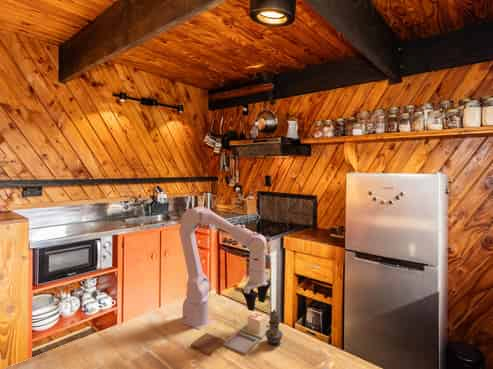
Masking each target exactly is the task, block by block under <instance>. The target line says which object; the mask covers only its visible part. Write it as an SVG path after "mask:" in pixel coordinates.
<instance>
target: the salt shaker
mask: <svg viewBox="0 0 493 369" xmlns="http://www.w3.org/2000/svg"><path fill="white" fill-rule="evenodd" d="M279 317H280V316H279V313H278V311H276V309H273V311H271V312H270V313H269V321H268V324H270V328H269V330H267V331H266V332H265V334H266V335H265V337H266V339H267V341H266V344H267V345H268V346H269V347H272V348H278V347H280V346H281V340H282V337H283V331H282V330H280V329H279V328H280V327H279V325H280V324H281V323H280V321H279V320H280V319H279Z"/></svg>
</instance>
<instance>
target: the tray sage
mask: <svg viewBox="0 0 493 369" xmlns="http://www.w3.org/2000/svg"><path fill="white" fill-rule="evenodd" d="M247 328H248V322H247V323H245V324H244V325H243V326H242V327H241V328H239V332H241V333H244V334H247V335H249V336H252V337H255V338H257V339H260V340H263V339H264V338H265V337H266V334H265V332H266V331H267V330H269V328H270V324H269V323H267V322H266V329H265V330H264V331H263V332H262V333H261V334H260V335H259V334H256V333H254V332H251V331H248V330H247Z"/></svg>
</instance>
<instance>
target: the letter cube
mask: <svg viewBox="0 0 493 369" xmlns="http://www.w3.org/2000/svg"><path fill="white" fill-rule="evenodd" d="M247 323H248V328H247V330H248V331H251V332H254V333H256V334H259V335H260V334H261V333H262V332H263V331H264V330H265V329H266V323H267V314H264V313H261V312H257V311H255V310H254V311H252V313H251V314H249V315H248V316H247Z"/></svg>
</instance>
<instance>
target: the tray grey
mask: <svg viewBox="0 0 493 369" xmlns="http://www.w3.org/2000/svg"><path fill="white" fill-rule="evenodd" d="M260 340H261V339H260V338H257V337H254V336H251V335H249V334H246V333H243V332H241V331H240V330H239V331H235V333H234V334H232V335H231V336H230V337H229V338H228V339H226V340H225V342H224V343H223V344H222V347H224V348H226V349H229V350H231V351H234V352H237V353H239V354H241V355H242V356H243V355H244V356H247V355H248V354H249V353H250V352H251V351H252V350H253V349H254V348H255V347H256V345H257V344H259V342H260Z"/></svg>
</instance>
